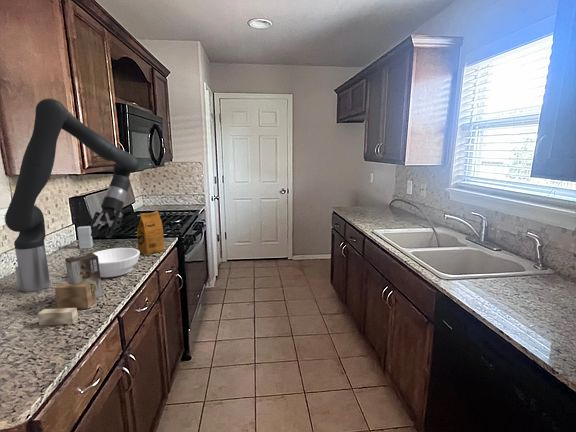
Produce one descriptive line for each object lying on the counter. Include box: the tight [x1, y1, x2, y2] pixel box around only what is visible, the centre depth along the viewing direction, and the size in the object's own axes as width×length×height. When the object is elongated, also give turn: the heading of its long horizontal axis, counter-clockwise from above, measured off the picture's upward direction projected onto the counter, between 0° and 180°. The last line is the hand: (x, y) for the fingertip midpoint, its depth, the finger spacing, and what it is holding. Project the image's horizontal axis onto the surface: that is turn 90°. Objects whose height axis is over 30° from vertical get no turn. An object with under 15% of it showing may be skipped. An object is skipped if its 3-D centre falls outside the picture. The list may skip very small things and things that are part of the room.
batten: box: [37, 308, 79, 326], centre depth 104 cm, size 10×3×4 cm, turn 96°
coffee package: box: [136, 210, 165, 256], centre depth 176 cm, size 10×12×22 cm
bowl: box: [92, 247, 141, 278], centre depth 147 cm, size 22×22×8 cm
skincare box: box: [76, 225, 94, 250], centre depth 185 cm, size 6×4×12 cm
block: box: [54, 283, 97, 310], centre depth 115 cm, size 10×6×8 cm, turn 96°
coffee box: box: [64, 252, 104, 299], centre depth 120 cm, size 9×6×16 cm
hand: (100, 237), depth 128 cm, fingers open, 8 cm apart
